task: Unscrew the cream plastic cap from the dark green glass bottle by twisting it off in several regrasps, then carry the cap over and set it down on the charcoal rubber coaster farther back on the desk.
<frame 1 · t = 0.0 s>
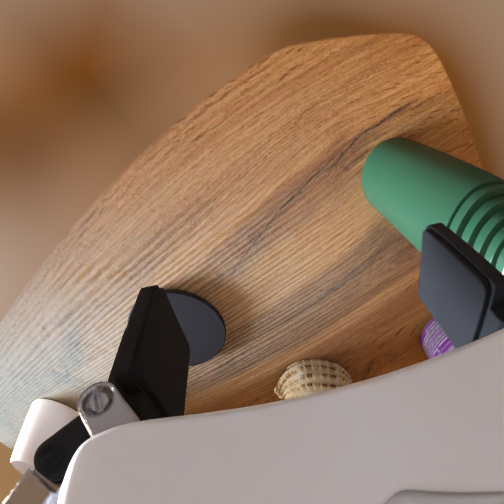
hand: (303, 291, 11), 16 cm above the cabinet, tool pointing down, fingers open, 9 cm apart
cup: (63, 419, 40), on the cabinet
coaster: (176, 329, 32), on the cabinet
seashell: (314, 377, 37), on the cabinet
beverage can: (440, 324, 35), on the cabinet
bottle: (397, 176, 25), on the cabinet
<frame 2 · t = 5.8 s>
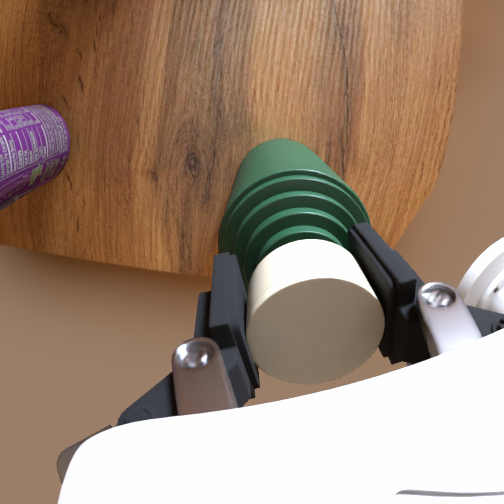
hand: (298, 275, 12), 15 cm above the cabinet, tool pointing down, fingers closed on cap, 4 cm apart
cap: (315, 329, 9), point 18 cm above the cabinet, turned 89° so far, risen 0.1 cm, still on its thread, touching gripper
beverage can: (43, 142, 23), on the cabinet
bottle: (281, 182, 25), on the cabinet, touching gripper
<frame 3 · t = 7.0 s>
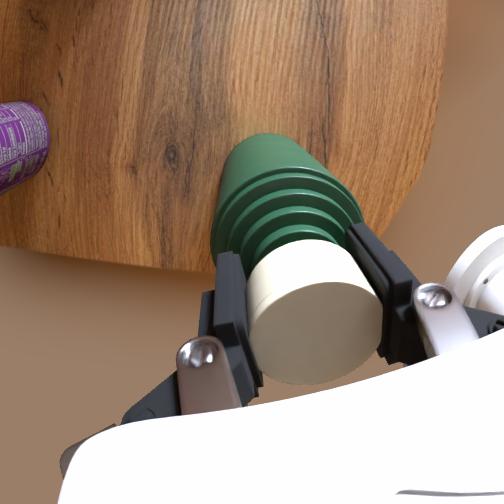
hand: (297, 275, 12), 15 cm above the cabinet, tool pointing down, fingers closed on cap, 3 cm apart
cap: (317, 331, 9), point 18 cm above the cabinet, turned 89° so far, risen 0.1 cm, still on its thread, touching gripper
beverage can: (24, 138, 21), on the cabinet
bottle: (267, 177, 25), on the cabinet
when the fingers open (15 cm above the cabinet, at t = 12.2 s): cap stays where it is, point 18 cm above the cabinet.
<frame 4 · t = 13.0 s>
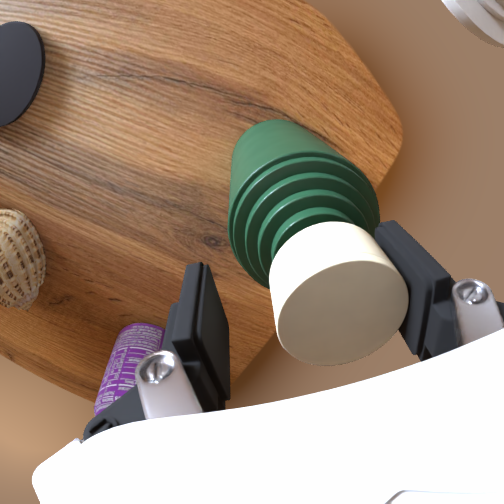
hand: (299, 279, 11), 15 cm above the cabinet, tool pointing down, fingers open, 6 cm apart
cap: (342, 311, 9), point 18 cm above the cabinet, turned 88° so far, risen 0.1 cm, still on its thread, touching gripper
coaster: (3, 73, 18), on the cabinet
seashell: (20, 249, 27), on the cabinet
beverage can: (150, 341, 33), on the cabinet
bottle: (276, 163, 25), on the cabinet
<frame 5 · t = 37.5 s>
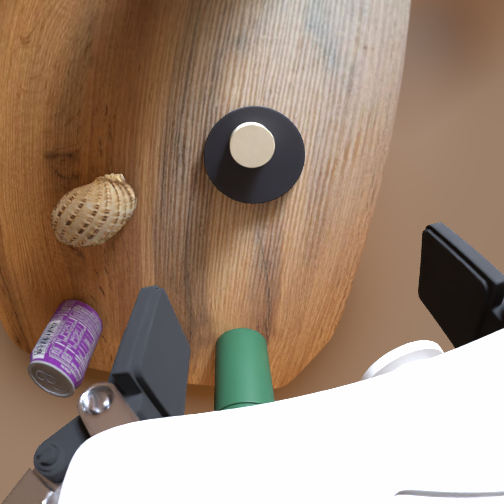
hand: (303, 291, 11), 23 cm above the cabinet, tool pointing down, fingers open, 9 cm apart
cap: (252, 145, 28), point 3 cm above the cabinet, off its thread, touching coaster
coaster: (254, 155, 31), on the cabinet
seashell: (99, 203, 33), on the cabinet
beverage can: (81, 316, 40), on the cabinet
bottle: (241, 346, 43), on the cabinet
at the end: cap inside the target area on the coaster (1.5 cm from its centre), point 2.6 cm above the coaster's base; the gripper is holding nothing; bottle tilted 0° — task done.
